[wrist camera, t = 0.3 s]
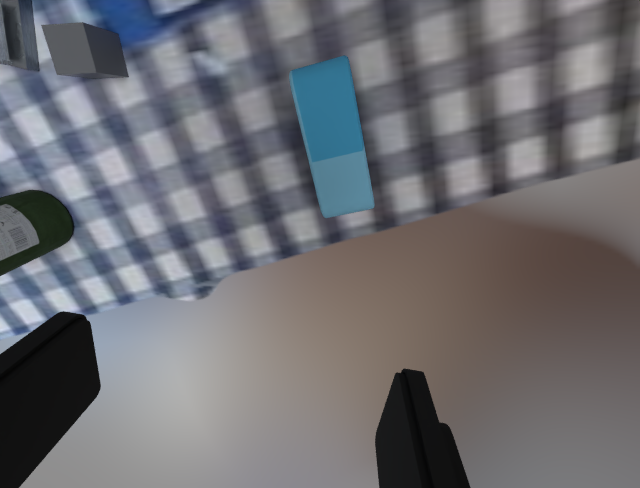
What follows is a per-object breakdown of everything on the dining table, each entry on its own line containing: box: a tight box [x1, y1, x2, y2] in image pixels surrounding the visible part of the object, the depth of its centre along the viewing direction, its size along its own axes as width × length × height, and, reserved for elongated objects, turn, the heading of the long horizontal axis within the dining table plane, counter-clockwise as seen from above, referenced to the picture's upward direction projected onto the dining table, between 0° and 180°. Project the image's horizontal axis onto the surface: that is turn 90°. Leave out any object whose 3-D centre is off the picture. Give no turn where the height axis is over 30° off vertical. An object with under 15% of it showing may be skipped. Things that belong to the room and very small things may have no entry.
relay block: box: [41, 22, 129, 79], centre depth 32 cm, size 4×4×5 cm
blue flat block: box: [289, 56, 374, 218], centre depth 30 cm, size 12×4×12 cm, turn 13°
